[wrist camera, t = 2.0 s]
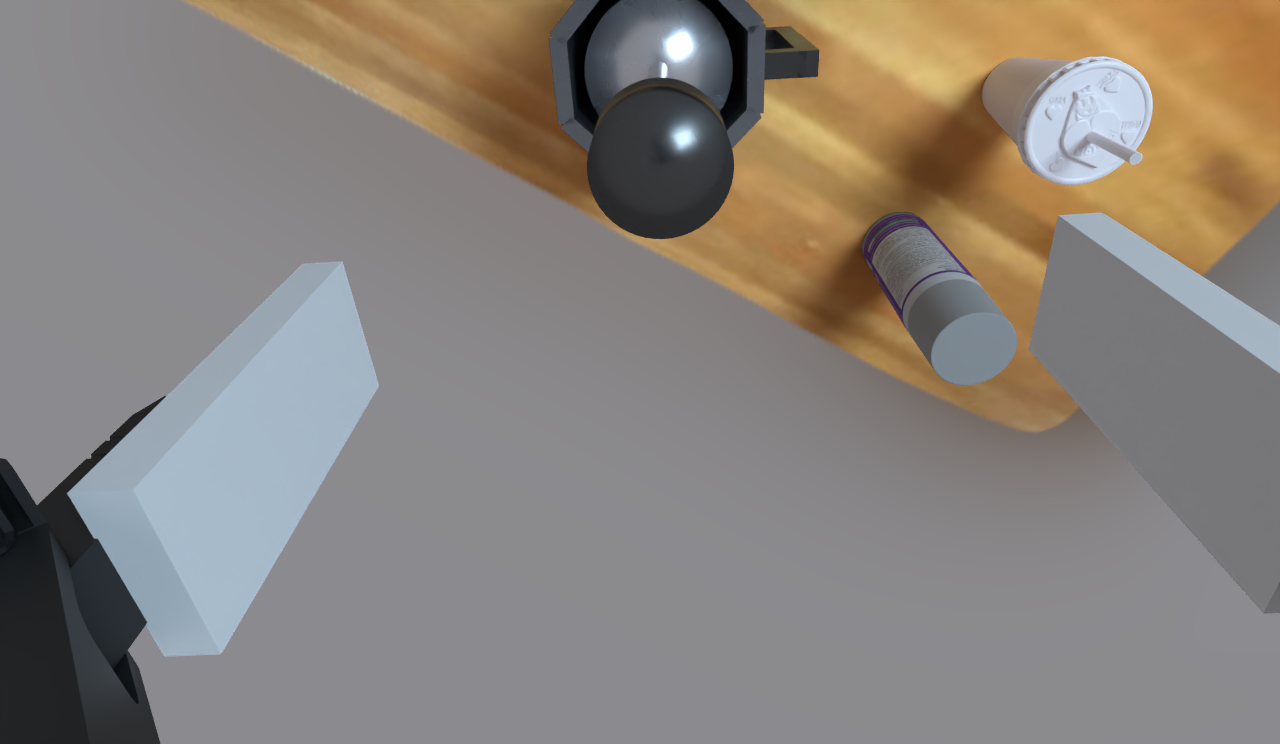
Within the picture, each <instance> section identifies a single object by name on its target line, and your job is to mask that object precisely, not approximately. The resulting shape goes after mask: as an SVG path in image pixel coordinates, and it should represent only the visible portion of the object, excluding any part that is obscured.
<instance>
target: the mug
mask: <svg viewBox="0 0 1280 744" xmlns="http://www.w3.org/2000/svg"><path fill="white" fill-rule="evenodd" d="M618 1H620V0H575V1H574V3H573V4H572V5H571V7H570V8H569V9H568V11H567V12H566V13H565V15H564V16H563V17H562V19H561V20H560V21H559V22H558V24H557V25H556V26H555V28H554V29H553V30H552V32H551V34H552V35H551V36H550V37H549V43H550V52H551V61H552V70H553V79H554V88H555V97H556V106H557V115H558V124H562V127H561V129H562V130H563V131H564V132H565V133H567V134H568V135H569V136H570V137H571V138H572V139H573V140H575V141H576V142H577V143H578V144H579V145H580V146H581V147H583V148H584V149H585V150H586V151H587V152H588V153H589V149H590V145H591V141H592V138H593V134H594V130H595V127H596V124H597V121H598V119H599V115H598V113H597V112H596V110H595V108H594V106H593V104H592V102H591V100H590V97H589V94H588V90H587V87H586V81H585V57H586V52H587V47H588V44H589V41H590V38H591V36H592V34H593V32H594V30H595V28H596V26H597V24H598V23H599V21H600V20H601V18H602V17H603V16H604V14H605V13H606V12H607V11H608V10H609V9H610V8H611V7H612V6H613V5H615V4H616V3H617V2H618ZM698 1H700V2H701V3H703V4H704V5H705V6H706V7H707V8H708V9H709V10H710V11H711V12H712V13H713V14H714V16H715V17H716V18H717V20H718V21H719V23H720V24H721V26H722V28H723V30H724V32H725V34H726V36H727V39H728V42H729V45H730V49H731V54H732V64H733V71H732V81H731V86H730V90H729V93H728V96H727V99H726V101H725V103H724V105H723V107H722V109H721V111H720V112H719V113H720V115H721V117H722V119H723V122H724V125H725V128H726V131H727V134H728V137H729V140H730V143H731V147H732V148H733V147H734V146H735V145H736V144H737V143H738V142H739V141H740V140H741V138H742V137H743V136H744V135H745V134H746V133H747V132H748V131H749V130H750V129H751V128H752V127H753V126H754V125H755V124H756V123H757V122H758V121H759V120H760V119H761V116H760V114H759V113H763V111H764V80H767V79H784V78H802V77H818V63H819V49H817V48H816V47H815V46H814V45H813V44H811V43H810V42H809V41H808V40H806V39H805V38H804V37H803V36H802V35H800V34H799V33H798V32H797V31H796V30H794V29H793V28H792V27H791V26H786V27H770V28H766V25H765V24H764V23H763V21H764V20H763V19H762V18H761V17H760V16H759V14H758V13H757V12H756V11H755V10H754V9H753V8H752V7H751V6H750V5H749V4H748V3H747V2H746V1H745V0H698Z"/></svg>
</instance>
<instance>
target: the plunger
mask: <svg viewBox="0 0 1280 744" xmlns="http://www.w3.org/2000/svg"><path fill="white" fill-rule="evenodd" d="M732 71H733V64H732V54H731V49H730V45H729V42H728V39H727V36H726V34H725V32H724V30H723V28H722V26H721V24H720V23H719V21H718V20H717V18H716V17H715V16H714V14H713V13H712V12H711V11H710V10H709V9H708V8H707V7H706V6H705V5H704V4H703V3H701V2H700V1H698V0H620V1H618V2H617V3H616V4H615V5H613V6H612V7H611V8H610V9H609V10H608V11H607V12H606V13H605V14H604V16H603V17H602V18H601V20H600V21H599V23H598V24H597V26H596V28H595V30H594V32H593V34H592V36H591V38H590V41H589V44H588V47H587V52H586V57H585V81H586V87H587V90H588V94H589V97H590V100H591V102H592V104H593V106H594V108H595V110H596V112H597V113H598V115H599V119H598V121H597V124H596V127H595V130H594V134H593V138H592V141H591V145H590V149H589V153H588V161H587V174H588V180H589V185H590V188H591V191H592V194H593V196H594V198H595V200H596V202H597V204H598V205H599V207H600V208H601V210H602V211H603V212H604V213H605V215H606V216H607V217H608V218H609V219H610V220H611V221H612V222H614V223H615V224H616V225H618V226H619V227H621V228H622V229H624V230H626V231H628V232H630V233H632V234H635V235H638V236H641V237H645V238H652V239H667V238H674V237H678V236H682V235H685V234H688V233H690V232H692V231H694V230H696V229H698V228H699V227H701V226H702V225H704V224H705V223H706V222H708V221H709V220H710V219H711V218H712V217H713V216H714V215H715V214H716V212H717V211H718V210H719V209H720V207H721V206H722V204H723V203H724V201H725V199H726V197H727V195H728V193H729V190H730V187H731V184H732V179H733V172H734V158H733V152H732V147H731V143H730V140H729V137H728V134H727V131H726V128H725V125H724V122H723V119H722V117H721V115H720V113H719V112H720V111H721V109H722V107H723V105H724V103H725V101H726V99H727V96H728V93H729V90H730V86H731V81H732Z"/></svg>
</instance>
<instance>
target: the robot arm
mask: <svg viewBox="0 0 1280 744" xmlns="http://www.w3.org/2000/svg"><path fill="white" fill-rule="evenodd" d="M1029 350H1030V351H1031V353H1032V354H1033V355H1034V356H1035V357H1036V358H1037V359H1038V360H1039V361H1040V363H1041V364H1042V365H1043V366H1044V367H1045V368H1046V369H1047V370H1048V372H1049V373H1050V374H1051V375H1052V376H1053V377H1054V378H1055V379H1056V381H1057V382H1058V383H1059V384H1060V385H1061V386H1062V387H1063V388H1064V390H1065V391H1066V392H1067V393H1068V394H1069V395H1070V396H1071V397H1072V399H1073V400H1074V401H1075V402H1076V403H1077V404H1078V405H1079V406H1080V408H1081V409H1082V410H1083V411H1084V412H1085V413H1086V414H1087V415H1088V417H1089V418H1090V419H1091V420H1092V421H1093V422H1094V423H1095V424H1096V426H1097V427H1098V428H1099V429H1100V430H1101V431H1102V432H1103V433H1104V435H1105V436H1106V437H1107V438H1108V439H1109V440H1110V441H1111V442H1112V444H1113V445H1114V446H1115V447H1116V448H1117V449H1118V450H1119V451H1120V452H1121V454H1122V455H1123V456H1124V457H1125V458H1126V459H1127V460H1128V462H1129V463H1130V464H1131V465H1132V466H1133V467H1134V468H1135V469H1136V471H1137V472H1138V473H1139V474H1140V475H1141V476H1142V477H1143V478H1144V480H1145V481H1146V482H1147V483H1148V484H1149V485H1150V486H1151V487H1152V489H1153V490H1154V491H1155V492H1156V493H1157V494H1158V495H1159V496H1160V498H1161V499H1162V500H1163V501H1164V502H1165V503H1166V504H1167V505H1168V507H1169V508H1170V509H1171V510H1172V511H1173V512H1174V513H1175V514H1176V515H1177V517H1178V518H1179V519H1180V520H1181V521H1182V522H1183V523H1184V524H1185V526H1186V527H1187V528H1188V529H1189V530H1190V531H1191V532H1192V534H1193V535H1194V536H1195V537H1196V538H1197V539H1198V540H1199V541H1200V542H1201V543H1202V545H1203V546H1204V547H1205V548H1206V549H1207V550H1208V551H1209V553H1211V555H1212V556H1213V557H1214V558H1215V559H1216V560H1217V562H1218V563H1219V564H1220V565H1221V566H1222V567H1223V568H1224V569H1225V570H1226V572H1227V573H1228V574H1229V575H1230V576H1231V577H1232V578H1233V580H1234V581H1235V582H1236V583H1237V584H1238V585H1239V586H1240V587H1241V589H1242V590H1243V591H1244V592H1245V593H1246V594H1247V595H1248V596H1249V597H1250V599H1251V600H1252V601H1253V602H1254V603H1255V604H1256V605H1257V607H1258V608H1259V609H1260V610H1261V611H1262V612H1263V613H1280V326H1279V325H1277V324H1276V323H1274V322H1273V321H1271V320H1270V319H1268V318H1266V317H1265V316H1263V315H1262V314H1260V313H1258V312H1257V311H1256V310H1254V309H1252V308H1251V307H1249V306H1248V305H1246V304H1245V303H1243V302H1241V301H1240V300H1238V299H1236V298H1235V297H1233V296H1232V295H1230V294H1229V293H1227V292H1226V291H1224V290H1222V289H1221V288H1219V287H1218V286H1216V285H1215V284H1213V283H1211V282H1210V281H1208V280H1207V279H1205V278H1204V277H1202V276H1201V275H1199V274H1198V273H1196V272H1194V271H1193V270H1191V269H1190V268H1188V267H1187V266H1185V265H1183V264H1182V263H1180V262H1179V261H1177V260H1176V259H1174V258H1172V257H1171V256H1169V255H1168V254H1166V253H1165V252H1163V251H1162V250H1160V249H1158V248H1157V247H1155V246H1154V245H1152V244H1151V243H1149V242H1147V241H1146V240H1144V239H1143V238H1141V237H1140V236H1138V235H1136V234H1135V233H1133V232H1132V231H1130V230H1129V229H1127V228H1126V227H1124V226H1122V225H1121V224H1119V223H1118V222H1116V221H1115V220H1113V219H1111V218H1110V217H1108V216H1107V215H1105V214H1104V213H1087V214H1071V215H1058V219H1057V223H1056V228H1055V232H1054V237H1053V241H1052V246H1051V250H1050V255H1049V260H1048V264H1047V269H1046V273H1045V278H1044V282H1043V287H1042V291H1041V296H1040V301H1039V305H1038V310H1037V314H1036V319H1035V323H1034V328H1033V332H1032V337H1031V341H1030V346H1029ZM378 386H379V384H378V381H377V378H376V374H375V371H374V367H373V364H372V361H371V357H370V354H369V351H368V347H367V344H366V341H365V337H364V333H363V330H362V327H361V323H360V320H359V317H358V313H357V310H356V307H355V303H354V300H353V296H352V293H351V289H350V286H349V282H348V279H347V276H346V272H345V269H344V265H343V262H342V261H340V262H323V263H307V264H302V265H301V266H300V267H299V268H298V269H297V270H296V271H295V272H293V273H292V275H290V276H289V277H288V278H287V279H286V280H285V281H284V282H283V283H282V284H281V285H280V286H279V287H278V288H277V289H276V290H275V291H274V292H273V293H272V294H271V295H270V296H269V297H268V298H267V299H266V300H265V301H264V302H263V303H262V304H261V305H260V306H259V307H258V308H257V309H256V310H255V311H254V312H253V313H251V314H250V315H249V316H248V317H247V318H246V319H245V321H244V322H242V323H241V324H240V325H239V326H238V327H237V328H236V329H235V330H234V331H233V332H232V333H231V334H230V335H229V336H228V337H227V338H226V339H225V340H224V341H223V342H222V343H221V344H220V345H219V346H218V347H217V348H216V349H215V350H214V351H213V352H211V354H210V355H208V356H207V357H206V358H205V359H204V360H203V361H202V362H201V363H200V364H199V365H198V366H197V367H196V368H195V369H194V370H193V371H192V372H191V373H190V374H189V375H188V376H187V377H186V378H185V379H184V380H183V381H182V382H181V383H180V384H179V385H178V386H177V387H176V388H175V389H174V390H172V391H171V393H169V395H167V396H164V397H162V398H161V399H159V400H157V401H156V402H154V403H152V404H151V405H149V406H147V407H145V408H144V409H142V410H141V411H139V412H137V413H135V414H134V415H132V416H131V417H130V418H129V419H128V420H127V421H126V422H125V423H124V424H123V425H122V426H121V427H120V428H118V429H117V430H116V431H115V432H114V433H113V434H112V435H111V436H110V441H105V442H104V443H103V444H102V445H100V446H99V448H97V449H96V450H95V451H94V452H93V453H92V454H91V456H92V457H91V459H86V460H85V461H84V462H83V463H81V465H79V466H78V467H77V468H76V469H75V470H74V471H73V472H72V473H71V474H70V475H69V476H68V477H67V478H66V479H65V480H64V481H63V482H61V483H60V484H59V485H58V486H57V487H56V488H55V489H54V490H53V491H52V492H51V493H50V494H49V495H48V496H47V497H46V498H45V499H43V500H42V502H40V503H39V504H38V505H36V504H35V502H34V500H33V499H32V497H31V496H30V494H29V492H28V491H27V489H26V488H25V486H24V485H23V483H22V481H21V480H20V478H19V477H18V475H17V473H16V472H15V470H14V469H13V467H12V466H11V465H10V463H9V462H8V461H7V460H6V459H1V458H0V744H160V741H159V738H158V734H157V730H156V726H155V723H154V720H153V716H152V713H151V709H150V705H149V702H148V699H147V695H146V692H145V688H144V684H143V681H142V677H141V674H140V670H139V668H138V666H137V664H136V663H135V661H134V660H133V658H132V656H131V655H130V653H129V652H128V649H129V647H130V646H131V645H132V643H133V642H134V640H135V639H136V638H137V636H138V635H139V633H140V632H141V631H142V629H143V628H144V626H145V625H146V627H147V628H148V630H149V632H150V633H151V635H152V636H153V639H154V640H155V642H156V644H157V645H158V647H159V649H160V650H161V652H162V654H163V655H164V656H188V655H212V654H221V653H222V651H223V650H224V648H225V646H226V645H227V643H228V641H229V640H230V638H231V636H232V634H233V633H234V631H235V629H236V628H237V626H238V624H239V623H240V621H241V619H242V617H243V616H244V614H245V612H246V611H247V609H248V607H249V606H250V604H251V602H252V600H253V599H254V597H255V595H256V594H257V592H258V590H259V589H260V587H261V585H262V584H263V582H264V580H265V578H266V577H267V575H268V573H269V572H270V570H271V568H272V566H273V565H274V563H275V561H276V560H277V558H278V556H279V555H280V553H281V551H282V550H283V548H284V546H285V544H286V543H287V541H288V539H289V538H290V536H291V534H292V532H293V531H294V529H295V527H296V526H297V524H298V522H299V520H300V519H301V517H302V516H303V514H304V512H305V510H306V509H307V507H308V505H309V504H310V502H311V500H312V498H313V497H314V495H315V493H316V492H317V490H318V488H319V487H320V485H321V483H322V482H323V480H324V478H325V476H326V475H327V473H328V471H329V470H330V468H331V466H332V465H333V463H334V461H335V460H336V458H337V456H338V454H339V453H340V451H341V449H342V448H343V446H344V444H345V443H346V441H347V439H348V437H349V436H350V434H351V432H352V431H353V429H354V427H355V426H356V424H357V422H358V420H359V419H360V417H361V415H362V414H363V412H364V410H365V409H366V407H367V405H368V403H369V402H370V400H371V398H372V397H373V395H374V393H375V392H376V390H377V388H378Z"/></svg>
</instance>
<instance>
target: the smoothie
mask: <svg viewBox="0 0 1280 744" xmlns="http://www.w3.org/2000/svg"><path fill="white" fill-rule="evenodd" d="M982 101H983V105H984V107H985V109H986V110H987V112H988V113H989V114H990V115H991V116H992V117H993V119H994V120H995V121H996V122H997V123H998V124H999V125H1000V127H1001V128H1002V129H1003V130H1004V131H1005V132H1006V133H1007V135H1008V136H1009V137H1010V138H1011V139H1012V140H1013V141H1014V143H1015V144H1016V145H1017V146H1018V150H1019V152H1020V155H1021V157H1022V160H1023V162H1024V163H1025V164H1026V165H1027V166H1028V167H1029V169H1030V170H1031V171H1032V172H1034V173H1035V174H1037V175H1039V176H1041V177H1042V178H1044V179H1046V180H1049V181H1051V182H1054V183H1057V184H1062V185H1078V184H1084V183H1088V182H1091V181H1094V180H1097V179H1099V178H1101V177H1104V176H1105V175H1107V174H1109V173H1111V172H1112V171H1114V170H1115V169H1116V168H1118V167H1119V166H1120V165H1122V164H1123V163H1124V162H1125V161H1127V162H1129V163H1131V164H1134V165H1135V164H1138V163H1139V162H1140V161H1141V160H1142V154H1141V153H1139V152H1137V151H1135V150H1136V149H1137V147H1138V146H1139V145H1140V143H1141V141H1142V140H1143V138H1144V136H1145V134H1146V132H1147V129H1148V127H1149V124H1150V120H1151V116H1152V107H1153V102H1152V94H1151V90H1150V87H1149V85H1148V83H1147V81H1146V80H1145V78H1144V77H1143V76H1142V74H1141V73H1140V72H1139V71H1137V70H1136V69H1135V68H1133V67H1132V66H1130V65H1127V64H1125V63H1123V62H1122V61H1120V60H1118V59H1113V58H1109V57H1105V56H1099V57H1086V58H1083V59H1080V60H1077V61H1066V60H1052V59H1038V58H1024V57H1017V58H1012V59H1009V60H1006V61H1004V62H1002V63H1001V64H999V65H998V66H997V67H996V68H994V69H993V70H992V72H991V73H990V74H989V76H988V77H987V79H986V81H985V83H984V86H983V90H982Z"/></svg>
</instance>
